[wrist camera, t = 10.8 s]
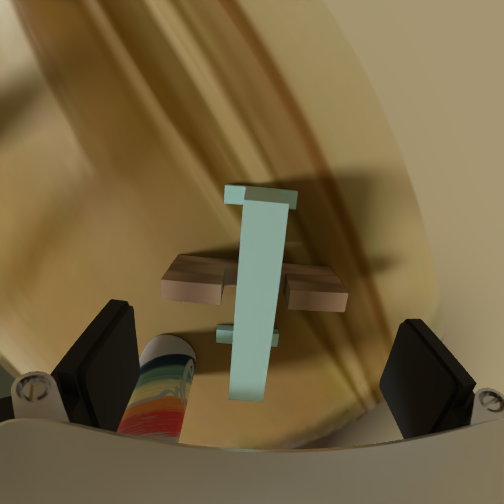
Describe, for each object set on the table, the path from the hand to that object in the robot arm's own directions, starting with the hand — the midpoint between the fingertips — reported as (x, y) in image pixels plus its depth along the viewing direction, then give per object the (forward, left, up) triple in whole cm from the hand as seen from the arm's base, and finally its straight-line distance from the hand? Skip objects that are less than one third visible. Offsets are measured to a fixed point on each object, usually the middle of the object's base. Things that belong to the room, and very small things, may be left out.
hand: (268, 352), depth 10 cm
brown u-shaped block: (+4, 0, -18) cm, 19 cm away
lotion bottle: (+14, -8, -19) cm, 25 cm away
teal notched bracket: (+4, 0, -18) cm, 19 cm away
